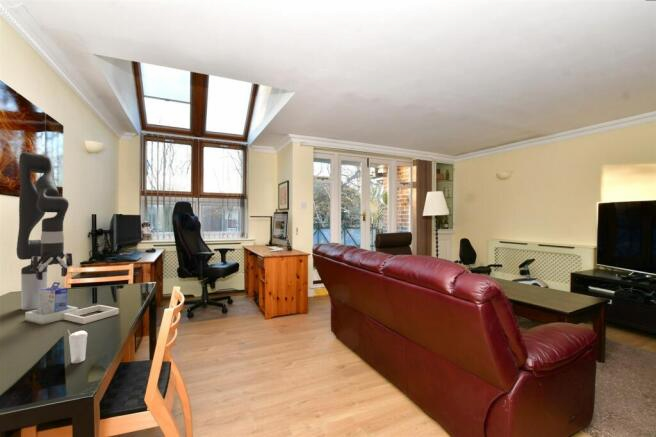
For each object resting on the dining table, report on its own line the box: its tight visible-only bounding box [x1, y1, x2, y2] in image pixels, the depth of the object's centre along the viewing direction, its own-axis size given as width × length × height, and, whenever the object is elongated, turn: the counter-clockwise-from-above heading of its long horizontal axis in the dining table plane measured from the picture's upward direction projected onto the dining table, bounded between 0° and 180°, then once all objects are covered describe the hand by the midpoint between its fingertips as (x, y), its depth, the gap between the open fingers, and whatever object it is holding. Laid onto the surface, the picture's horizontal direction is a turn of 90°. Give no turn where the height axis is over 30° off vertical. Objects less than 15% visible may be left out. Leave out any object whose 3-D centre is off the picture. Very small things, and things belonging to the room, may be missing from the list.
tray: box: [24, 305, 79, 325], centre depth 135 cm, size 13×13×4 cm
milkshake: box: [67, 328, 88, 364], centre depth 95 cm, size 4×5×10 cm
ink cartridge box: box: [39, 281, 68, 315], centre depth 136 cm, size 10×6×14 cm, turn 75°
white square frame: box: [62, 304, 120, 325], centre depth 137 cm, size 15×15×2 cm
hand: (52, 278), depth 135 cm, fingers open, 8 cm apart
